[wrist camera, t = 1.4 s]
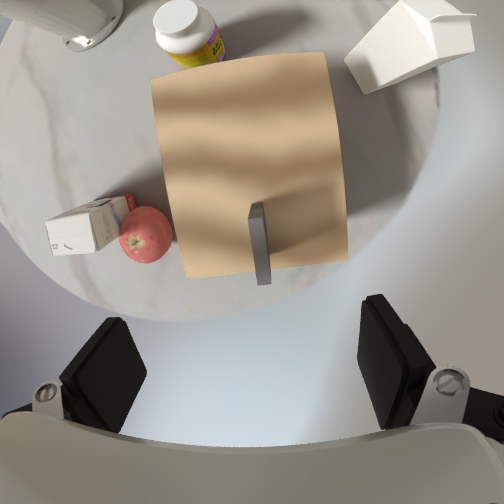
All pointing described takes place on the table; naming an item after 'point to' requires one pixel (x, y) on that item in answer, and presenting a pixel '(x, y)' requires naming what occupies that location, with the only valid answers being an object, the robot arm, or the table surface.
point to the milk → (410, 43)
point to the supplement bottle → (188, 34)
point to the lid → (252, 164)
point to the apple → (145, 234)
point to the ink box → (88, 225)
